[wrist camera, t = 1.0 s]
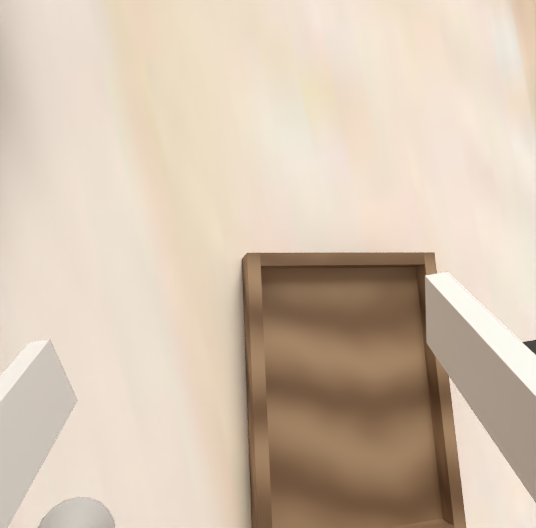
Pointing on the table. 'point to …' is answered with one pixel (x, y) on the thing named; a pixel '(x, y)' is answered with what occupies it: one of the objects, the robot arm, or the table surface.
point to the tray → (346, 394)
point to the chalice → (78, 515)
